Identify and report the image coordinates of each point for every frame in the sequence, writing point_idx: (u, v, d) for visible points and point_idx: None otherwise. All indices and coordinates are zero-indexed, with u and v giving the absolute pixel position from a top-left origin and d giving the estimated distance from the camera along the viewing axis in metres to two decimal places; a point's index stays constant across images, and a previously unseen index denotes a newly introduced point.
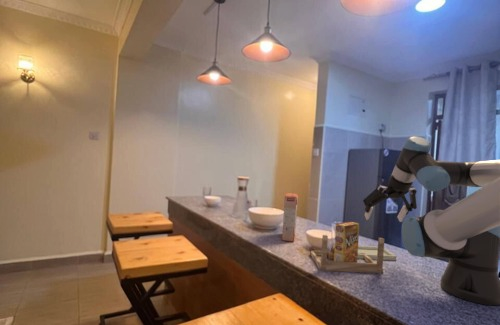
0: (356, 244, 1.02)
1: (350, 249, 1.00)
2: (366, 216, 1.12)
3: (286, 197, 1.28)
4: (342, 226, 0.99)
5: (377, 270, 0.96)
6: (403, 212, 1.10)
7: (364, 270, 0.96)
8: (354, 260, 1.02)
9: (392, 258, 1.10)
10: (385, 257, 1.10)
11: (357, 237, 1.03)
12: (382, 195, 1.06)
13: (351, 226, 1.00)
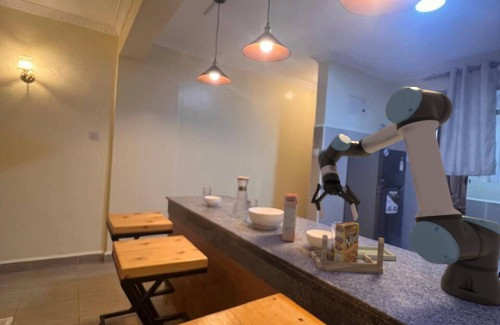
0: (356, 244, 1.02)
1: (350, 249, 1.00)
2: (321, 214, 1.11)
3: (286, 197, 1.28)
4: (342, 226, 0.99)
5: (377, 270, 0.96)
6: (353, 208, 1.14)
7: (364, 270, 0.96)
8: (354, 260, 1.02)
9: (392, 258, 1.10)
10: (385, 257, 1.10)
11: (357, 237, 1.03)
12: None
13: (351, 226, 1.00)
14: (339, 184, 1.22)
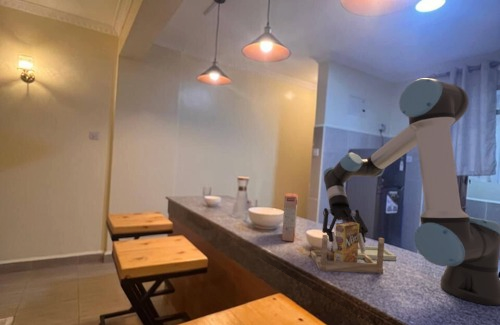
0: (356, 244, 1.02)
1: (350, 249, 1.00)
2: (334, 246, 1.00)
3: (286, 197, 1.28)
4: (342, 226, 0.99)
5: (377, 270, 0.96)
6: (359, 238, 1.02)
7: (364, 270, 0.96)
8: (354, 260, 1.02)
9: (392, 258, 1.10)
10: (385, 257, 1.10)
11: (357, 237, 1.03)
12: (333, 219, 1.08)
13: (351, 226, 1.00)
14: (348, 207, 1.11)
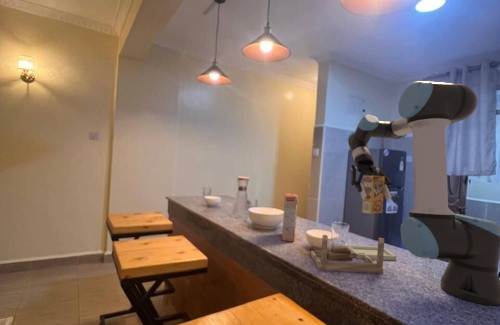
0: (381, 194, 1.15)
1: (377, 198, 1.13)
2: (363, 195, 1.12)
3: (286, 197, 1.28)
4: (370, 177, 1.12)
5: (377, 270, 0.96)
6: (385, 189, 1.15)
7: (364, 270, 0.96)
8: (380, 209, 1.15)
9: (392, 258, 1.10)
10: (385, 257, 1.10)
11: (383, 188, 1.16)
12: (360, 174, 1.21)
13: (378, 177, 1.13)
14: (373, 165, 1.24)
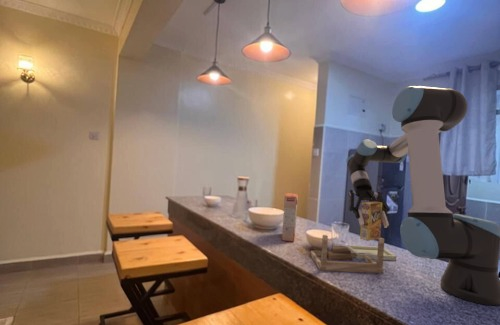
0: (379, 220, 1.16)
1: (374, 225, 1.14)
2: (361, 222, 1.13)
3: (286, 197, 1.28)
4: (368, 204, 1.13)
5: (377, 270, 0.96)
6: (383, 215, 1.16)
7: (364, 270, 0.96)
8: (378, 235, 1.16)
9: (392, 258, 1.10)
10: (385, 257, 1.10)
11: (380, 214, 1.17)
12: (358, 199, 1.22)
13: (376, 204, 1.14)
14: (371, 189, 1.25)
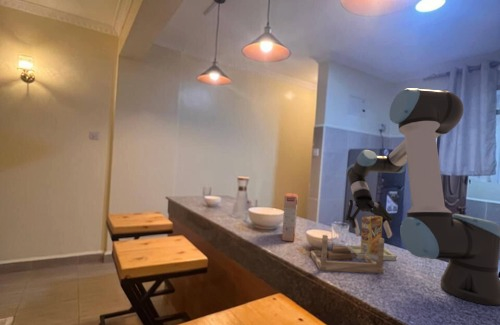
0: (380, 234, 1.16)
1: (375, 239, 1.14)
2: (357, 231, 1.13)
3: (286, 197, 1.28)
4: (368, 219, 1.12)
5: (377, 270, 0.96)
6: (386, 225, 1.16)
7: (364, 270, 0.96)
8: None
9: (392, 258, 1.10)
10: (385, 257, 1.10)
11: (381, 228, 1.16)
12: None
13: (376, 219, 1.14)
14: (371, 200, 1.24)
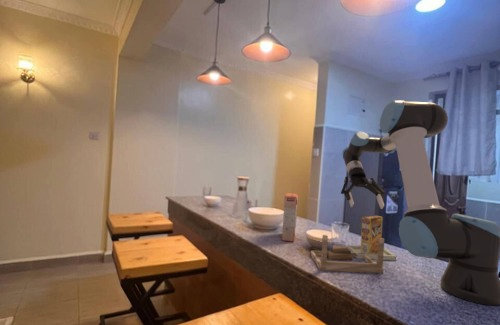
0: (380, 234, 1.16)
1: (375, 239, 1.14)
2: (351, 203, 1.25)
3: (286, 197, 1.28)
4: (368, 219, 1.12)
5: (377, 270, 0.96)
6: (379, 197, 1.28)
7: (364, 270, 0.96)
8: None
9: (392, 258, 1.10)
10: (385, 257, 1.10)
11: (381, 229, 1.16)
12: None
13: (376, 219, 1.14)
14: (365, 177, 1.36)
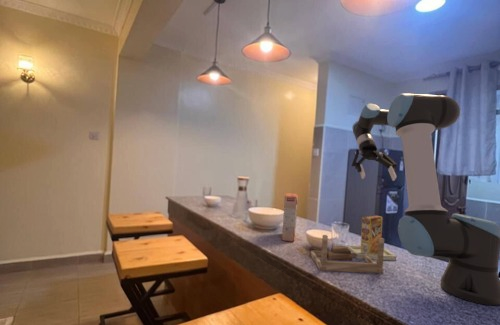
0: (380, 234, 1.16)
1: (375, 239, 1.14)
2: (362, 174, 1.22)
3: (286, 197, 1.28)
4: (368, 219, 1.12)
5: (377, 270, 0.96)
6: (391, 169, 1.25)
7: (364, 270, 0.96)
8: None
9: (392, 258, 1.10)
10: (385, 257, 1.10)
11: (381, 229, 1.16)
12: None
13: (376, 219, 1.14)
14: (376, 150, 1.33)
